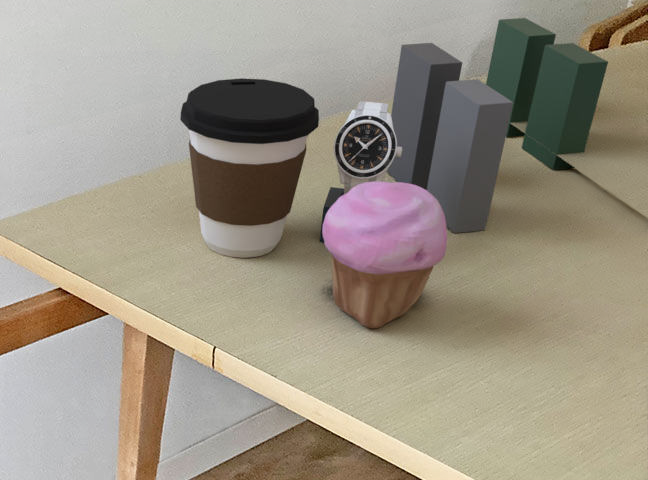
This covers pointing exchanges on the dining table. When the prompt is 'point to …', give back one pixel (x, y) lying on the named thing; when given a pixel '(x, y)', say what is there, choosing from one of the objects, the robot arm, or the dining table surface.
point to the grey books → (448, 134)
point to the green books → (546, 89)
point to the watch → (363, 150)
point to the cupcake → (383, 248)
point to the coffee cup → (246, 159)
